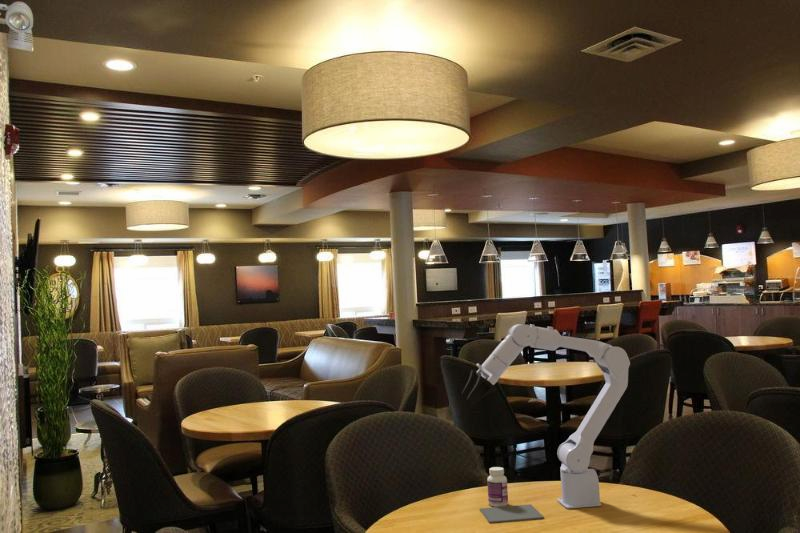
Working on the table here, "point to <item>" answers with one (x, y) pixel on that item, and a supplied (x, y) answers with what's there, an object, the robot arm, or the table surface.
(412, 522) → the table surface
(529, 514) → the mat
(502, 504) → the pill bottle
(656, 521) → the table surface
